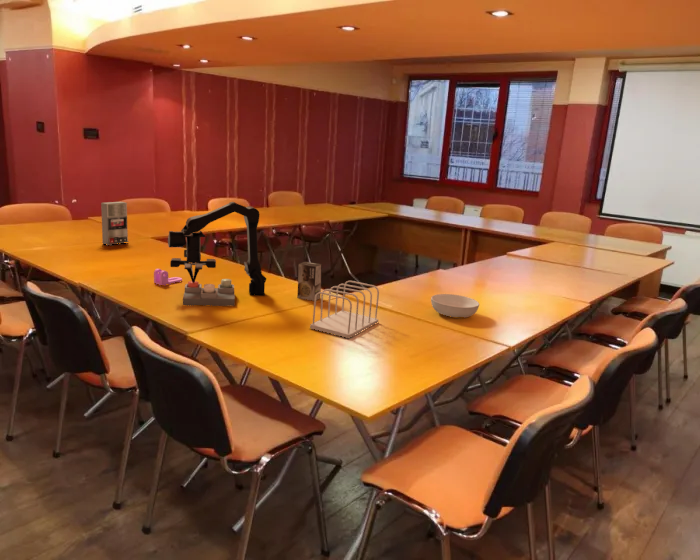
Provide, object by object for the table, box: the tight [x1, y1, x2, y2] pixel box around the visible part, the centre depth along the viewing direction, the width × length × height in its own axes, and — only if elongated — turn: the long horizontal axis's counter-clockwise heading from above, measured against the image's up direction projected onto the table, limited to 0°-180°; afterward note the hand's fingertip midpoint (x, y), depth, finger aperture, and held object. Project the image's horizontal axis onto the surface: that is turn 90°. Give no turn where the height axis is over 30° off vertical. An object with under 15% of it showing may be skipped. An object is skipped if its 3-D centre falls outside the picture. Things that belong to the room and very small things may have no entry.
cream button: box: [203, 283, 216, 293], centre depth 237 cm, size 4×4×3 cm
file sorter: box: [309, 280, 380, 339], centre depth 221 cm, size 25×17×16 cm
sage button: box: [220, 278, 232, 288], centre depth 247 cm, size 4×4×3 cm
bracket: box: [153, 268, 183, 286], centre depth 265 cm, size 13×6×7 cm, turn 145°
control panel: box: [182, 283, 236, 307], centre depth 242 cm, size 21×17×5 cm
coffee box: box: [297, 261, 323, 302], centre depth 255 cm, size 9×6×16 cm
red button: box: [187, 280, 200, 288], centre depth 244 cm, size 4×4×3 cm
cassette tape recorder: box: [100, 201, 129, 246], centre depth 337 cm, size 14×6×25 cm, turn 147°
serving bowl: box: [430, 293, 480, 318], centre depth 247 cm, size 21×21×7 cm
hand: (193, 282), depth 244 cm, fingers closed, pressing on red button
